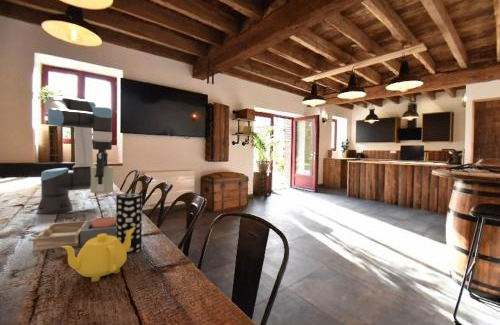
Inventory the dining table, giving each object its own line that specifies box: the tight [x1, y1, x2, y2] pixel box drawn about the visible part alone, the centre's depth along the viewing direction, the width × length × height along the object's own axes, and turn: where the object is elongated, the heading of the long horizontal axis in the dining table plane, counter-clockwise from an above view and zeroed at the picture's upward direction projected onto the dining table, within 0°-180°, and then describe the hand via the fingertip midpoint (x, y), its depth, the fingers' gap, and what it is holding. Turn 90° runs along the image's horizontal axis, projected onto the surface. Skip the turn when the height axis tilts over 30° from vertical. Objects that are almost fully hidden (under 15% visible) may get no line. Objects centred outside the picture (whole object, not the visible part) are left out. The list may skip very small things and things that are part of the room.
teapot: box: [60, 227, 136, 283], centre depth 70 cm, size 20×15×12 cm
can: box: [90, 165, 114, 194], centre depth 111 cm, size 9×9×12 cm
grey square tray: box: [79, 219, 116, 245], centre depth 98 cm, size 14×14×5 cm
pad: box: [92, 216, 116, 229], centre depth 98 cm, size 9×9×2 cm
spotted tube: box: [115, 192, 143, 255], centre depth 85 cm, size 8×8×20 cm
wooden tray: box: [32, 220, 88, 251], centre depth 93 cm, size 18×13×4 cm
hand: (102, 189), depth 111 cm, fingers closed on can, 9 cm apart
